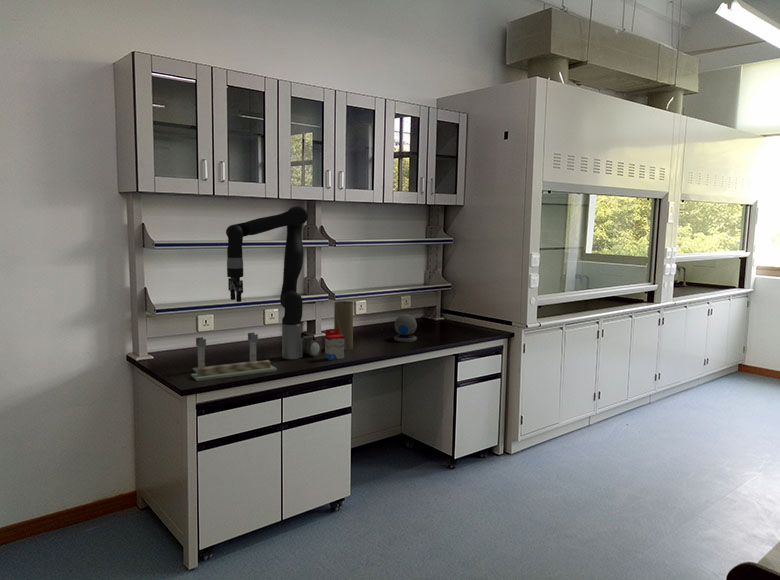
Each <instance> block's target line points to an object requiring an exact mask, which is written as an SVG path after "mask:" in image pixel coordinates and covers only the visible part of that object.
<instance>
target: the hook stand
mask: <svg viewBox="0 0 780 580" xmlns="http://www.w3.org/2000/svg"><path fill="white" fill-rule="evenodd" d="M247 341H248V342H249V361H248V362H255V361H257V343H259V334H258V333H257V334H256V333H255V332H248V333H247ZM195 347H197V367H192V371H193V372H194V374H195V373H198V368H203V367H212V366H213V365H208V366H206V362H205V361H206V358H205V357H206V356H205V355H206V354H205V348H207V339H206V338H204V337H203V336H202V337H195ZM246 362H247V361H241V362H240V363H246ZM238 363H239V362H235V363H231V364H238ZM229 364H230V363H225V364H223V365H229ZM221 365H222V364H218V365H217V364H216V365H214V366H221Z"/></svg>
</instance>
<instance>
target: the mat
mask: <svg viewBox="0 0 780 580" xmlns="http://www.w3.org/2000/svg"><path fill="white" fill-rule="evenodd" d="M277 371H278V368H277V367H275V366H273V365H272V364H270V368H264V369H256V370H248V371H240V372H232V373H224V374H216V375H208V376H200V377H199V376H198V373H195V372H194V373H191V374H190V375H191V377H192V378H193V379H194V380H195V381H196V382H200V381H208V380H215V379H222V378H230V377H231V378H232V377H238V376H246V375H255V374H260V373H261V374H262V373H269V372H277Z"/></svg>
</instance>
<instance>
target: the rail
mask: <svg viewBox="0 0 780 580" xmlns="http://www.w3.org/2000/svg"><path fill="white" fill-rule="evenodd" d="M245 362H246V363H241V362H237V363H238V364H232V363H228V364H229V365H224V364H220V365H221V366H215V365H211V366H212V367H206V366H205V367H203V368H198V367H197V368H198V376H199V377H200V376H208V375H216V374H224V373H232V372H240V371H248V370H256V369H264V368H270V365H271V361H270V360H269V359H266V360H256V361H255V362H249V361H245Z"/></svg>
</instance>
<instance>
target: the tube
mask: <svg viewBox="0 0 780 580" xmlns="http://www.w3.org/2000/svg"><path fill="white" fill-rule="evenodd" d="M333 305H334V307H333V309H334V311H333V314H334V316H333V318H334V321H333V323H334V324H333V325H334V326H333V327H334V328H333V329H338V328H339V329H340V332H339V334H341V335H344V351H350V350H353V349H354V346H353V345H354V340H353V339H354V338H353V337H354V333H353V332H354V302H353V301H350V300H349V301H348V300H347V301H345V300H341V301H334V304H333ZM333 332H335V331H333Z"/></svg>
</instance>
